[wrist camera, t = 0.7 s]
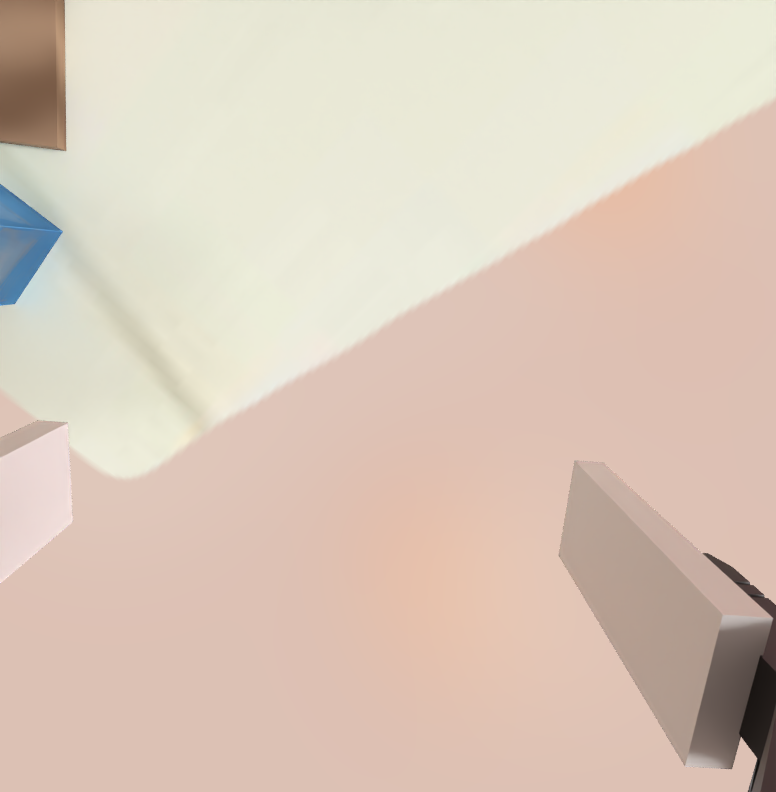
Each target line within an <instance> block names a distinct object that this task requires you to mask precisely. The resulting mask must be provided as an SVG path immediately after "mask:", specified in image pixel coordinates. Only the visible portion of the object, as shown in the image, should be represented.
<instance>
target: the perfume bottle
mask: <svg viewBox="0 0 776 792" xmlns="http://www.w3.org/2000/svg"><path fill="white" fill-rule="evenodd" d="M62 232H63V231H61V230H60V229H59V228H57V227H56V226H55V225H53V224H52V223H51V222H49V221H48V220H47V219H46V218H44V217H43V216H42V215H40V214H39V213H38V212H36V211H35V210H34V209H32V208H31V207H30V206H28V205H27V204H26V203H25V202H23V201H22V200H21V199H19V198H18V197H17V196H15V195H14V194H13V193H11V192H10V191H9V190H8V189H6V188H5V187H4V186H2V185H1V184H0V306H1V305H10V304H15V303H16V301H17V300H18V298H19V297H20V295H21V294H22V292H23V291H24V289H25V288H26V286H27V285H28V283H29V282H30V280H31V279H32V277H33V276H34V274H35V273H36V271H37V270H38V268H39V267H40V265H41V263H42V262H43V260H44V259H45V257H46V256H47V254H48V253H49V251H50V250H51V248H52V247H53V245H54V244H55V242H56V241H57V239H58V238H59V236H60V235H61V233H62Z"/></svg>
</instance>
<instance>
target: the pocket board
mask: <svg viewBox="0 0 776 792" xmlns="http://www.w3.org/2000/svg"><path fill="white" fill-rule="evenodd" d="M0 142H1V143H9V144H17V145H25V146H33V147H41V148H48V149H56V150H64V151H66V100H65V3H64V0H0Z"/></svg>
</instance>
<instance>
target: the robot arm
mask: <svg viewBox="0 0 776 792" xmlns="http://www.w3.org/2000/svg"><path fill="white" fill-rule="evenodd" d="M69 455H70V454H69V435H68V423H65V422H51V421H38V420H37V421H35V422H33V423H31V424H29V425H27V426H25V427H23V428H20V429H18V430H16V431H14V432H12V433H10V434H7V435H5V436H3V437H1V438H0V583H1V582H2V581H4V580H5V579H6V578H7V577H8V576H10V575H11V574H12V573H13V572H14V571H16V570H17V569H18V568H19V567H20V566H21V565H23V564H24V563H25V562H26V561H27V560H29V559H30V558H31V557H32V556H33V555H34V554H36V553H37V552H38V551H39V550H40V549H41V548H43V547H44V546H45V545H46V544H47V543H49V542H50V541H51V540H52V539H53V538H54V537H55V536H57V535H58V534H59V533H60V532H61V531H63V530H64V529H65V528H66V527H67V526H69V525H70V524H71V523H72V522H73V512H72V495H71V494H72V493H71V473H70V456H69ZM559 557H560V558H561V560H562V562H563V563H564V565H565V567H566V568H567V570H568V572H569V573H570V575H571V577H572V578H573V580H574V582H575V584H576V585H577V587H578V588H579V590H580V592H581V594H582V595H583V597H584V598H585V600H586V602H587V604H588V605H589V607H590V608H591V610H592V612H593V613H594V615H595V617H596V619H597V620H598V622H599V623H600V625H601V627H602V629H603V630H604V632H605V634H606V635H607V637H608V639H609V640H610V642H611V644H612V645H613V647H614V649H615V650H616V652H617V654H618V655H619V657H620V659H621V660H622V662H623V664H624V665H625V667H626V669H627V670H628V672H629V674H630V675H631V677H632V679H633V680H634V682H635V684H636V685H637V687H638V689H639V690H640V692H641V694H642V695H643V697H644V699H645V700H646V702H647V704H648V705H649V707H650V709H651V710H652V712H653V714H654V715H655V717H656V719H657V720H658V722H659V724H660V725H661V727H662V729H663V730H664V732H665V734H666V736H667V737H668V739H669V741H670V742H671V744H672V745H673V747H674V749H675V751H676V752H677V754H678V755H679V757H680V759H681V761H682V762H683V764H684V766H686V767H703V768H704V767H705V768H721V769H732V767H733V763H734V760H735V756H736V752H737V749H738V745H739V741H740V738H741V737H742V738H743V740H744V741H745V742H746V744H747V745H748V746H749V748H750V749H751V750H752V752H753V753H754V754H755V756H756V757H757V762H756V765H755V769H754V772H753V776H752V780H751V783H750V786H749V790H748V792H776V605H775V604H774V603H773V602H772V601H771V600H769V599H768V598H765V597H764V594H763V593H761V592H760V591H759V590H758V589H757V588H756V587H755V586H753V585H750V582H749V581H748V580H747V579H745V578H744V577H743V576H742V575H741V574H740V573H739V572H737V571H736V570H735V569H734V568H733V567H731V566H729V565H728V564H726V563H724V562H722V561H721V560H719V559H717V558H715V557H713V556H712V555H710V554H708V553H701V552H700V551H699V550H698V549H697V548H696V547H695V546H694V545H693V544H692V543H690V542H689V541H688V540H687V539H686V538H685V537H684V536H683V535H682V534H681V533H679V531H677V530H676V529H675V528H674V527H673V526H672V525H671V524H670V523H669V522H668V521H666V520H665V519H664V518H663V517H662V516H661V515H660V514H659V513H658V512H657V511H656V510H654V509H653V508H652V507H651V506H650V505H649V504H648V503H647V502H646V501H645V500H644V499H642V498H641V497H640V496H639V495H638V494H637V493H636V492H635V491H634V490H633V489H632V488H630V487H629V486H628V485H627V484H626V483H625V482H624V481H623V480H622V479H621V478H620V477H618V476H617V475H616V474H615V473H614V472H613V471H612V470H611V469H610V468H609V467H608V466H606V465H605V464H604V463H601V462H587V461H574V468H573V473H572V479H571V485H570V491H569V497H568V503H567V509H566V514H565V521H564V526H563V533H562V538H561V544H560V550H559Z"/></svg>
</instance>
